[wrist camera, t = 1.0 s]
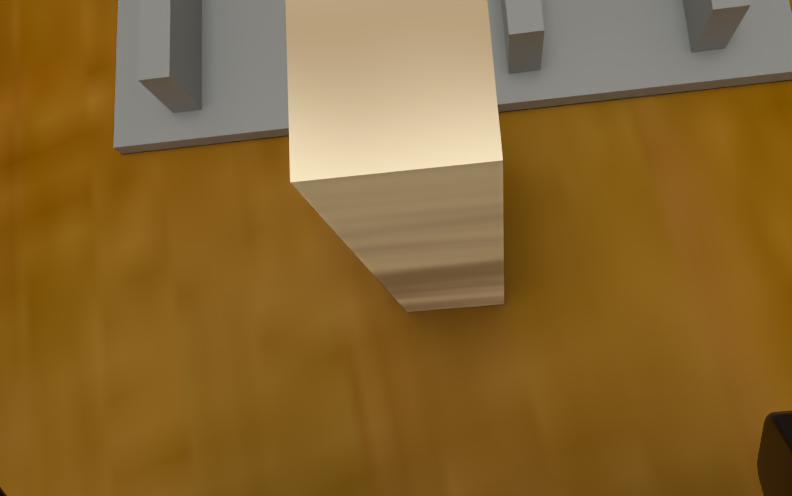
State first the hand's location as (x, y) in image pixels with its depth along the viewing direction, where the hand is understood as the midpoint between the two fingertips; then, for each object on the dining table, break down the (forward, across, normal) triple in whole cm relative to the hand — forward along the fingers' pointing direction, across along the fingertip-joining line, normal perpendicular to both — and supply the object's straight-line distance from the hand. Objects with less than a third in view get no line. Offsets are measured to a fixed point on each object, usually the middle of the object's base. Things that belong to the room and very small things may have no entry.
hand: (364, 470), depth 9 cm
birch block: (+14, -1, +6) cm, 15 cm away
